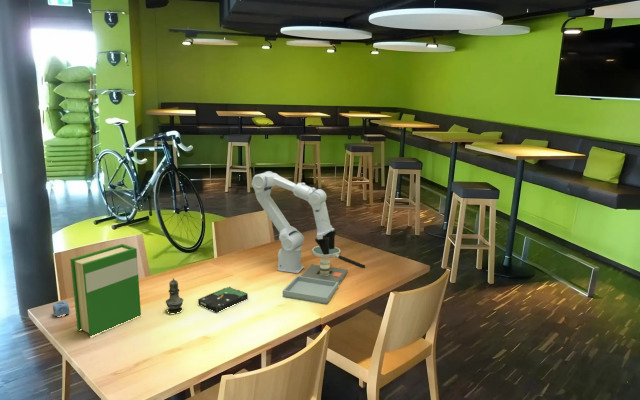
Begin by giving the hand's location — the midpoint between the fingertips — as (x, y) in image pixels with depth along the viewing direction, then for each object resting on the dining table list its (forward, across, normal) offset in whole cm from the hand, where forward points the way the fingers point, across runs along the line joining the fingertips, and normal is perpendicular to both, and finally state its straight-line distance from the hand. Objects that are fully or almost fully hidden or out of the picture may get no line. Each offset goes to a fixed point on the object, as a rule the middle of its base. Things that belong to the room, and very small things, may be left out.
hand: (329, 251), depth 193 cm
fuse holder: (+10, 0, +4) cm, 11 cm away
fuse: (+10, 0, +4) cm, 11 cm away
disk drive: (+5, -36, +31) cm, 48 cm away
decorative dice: (-7, -64, +74) cm, 98 cm away
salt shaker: (+2, -48, +42) cm, 64 cm away
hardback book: (-2, -63, +56) cm, 84 cm away
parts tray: (+11, -17, +4) cm, 20 cm away
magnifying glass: (+10, +23, +5) cm, 25 cm away
